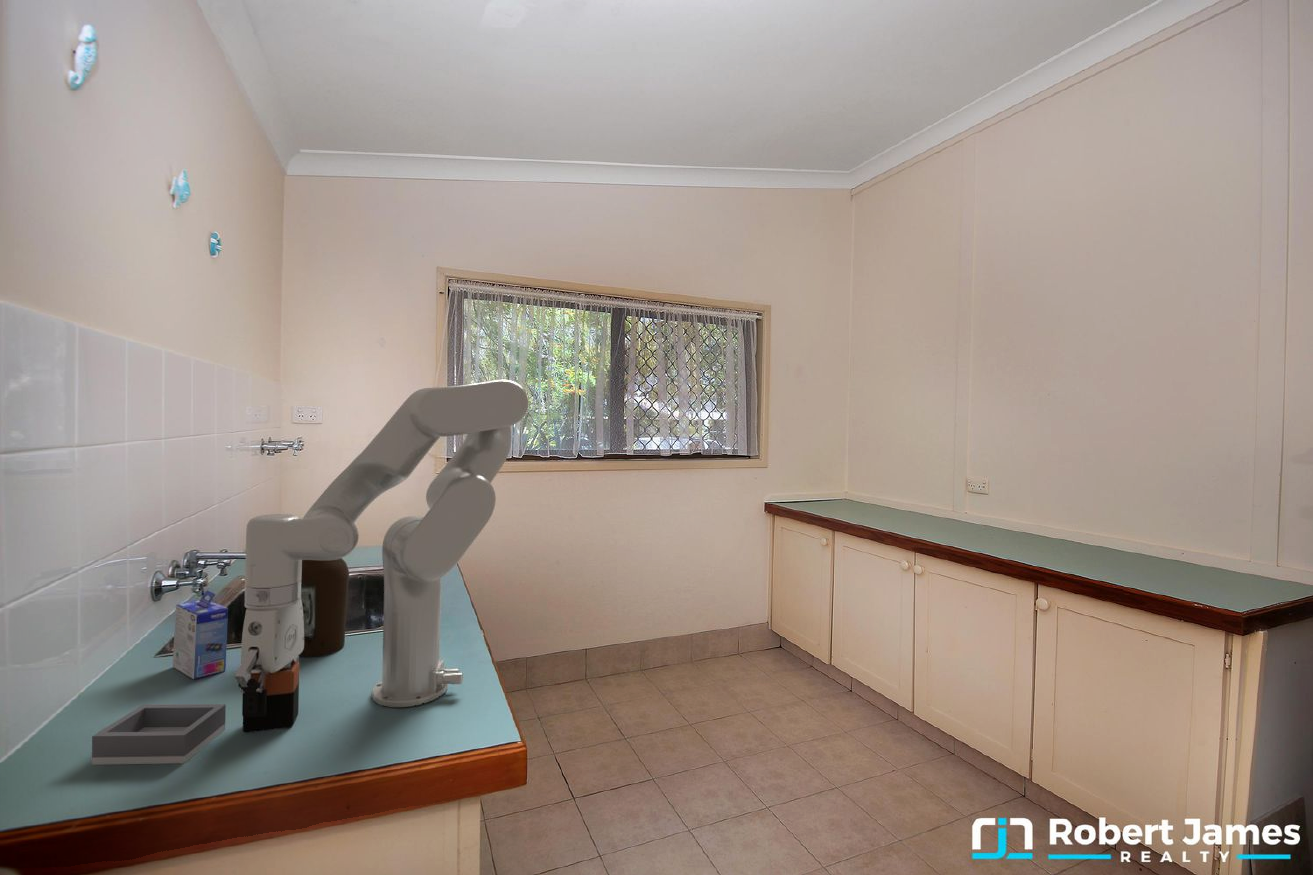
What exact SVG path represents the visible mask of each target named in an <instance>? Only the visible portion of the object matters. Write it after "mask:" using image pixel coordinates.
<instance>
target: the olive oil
mask: <svg viewBox="0 0 1313 875" xmlns="http://www.w3.org/2000/svg"><path fill="white" fill-rule="evenodd" d="M347 564H348V563H347V562H346V561H345V560H344V559H343V558H340V559H337V560H331V561H319V560H302V578H301V580H302V581H301V600H302V607H303V618H304V649H303V651H302V652H301V653H300V654H299V655H298V657H304V658H316V657H322V656H326V655H327V656H328V655H331V654H334V653H337V652H339V651H340V650H341V649H343V648H344V647H345V639H346V625H347V624H346V620H347V610H348V609H347V608H348V596H349V595H348V594H349V585H350V584H349V583H350V582H349V581H350V571H349V567H348V565H347Z"/></svg>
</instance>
